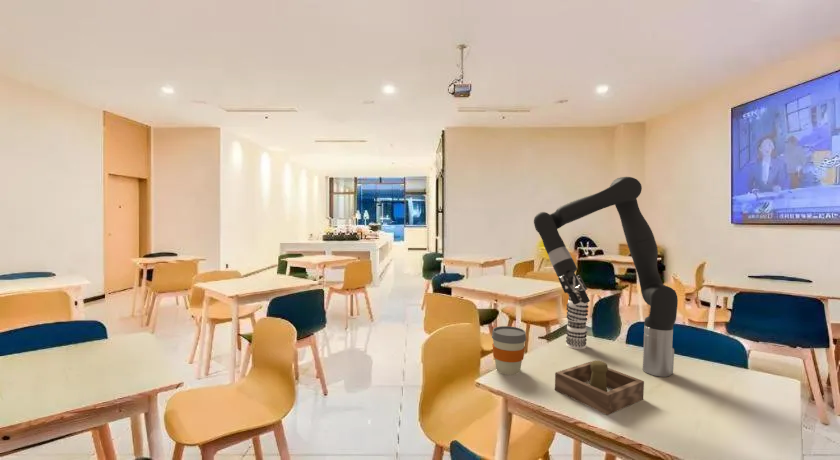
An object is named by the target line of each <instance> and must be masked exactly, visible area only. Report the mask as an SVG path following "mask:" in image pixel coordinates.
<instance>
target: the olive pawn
mask: <svg viewBox="0 0 840 460" xmlns="http://www.w3.org/2000/svg"><path fill="white" fill-rule="evenodd" d="M591 362H592V363H591V370H592V374H591V380H590V381H589V385H591V386H593V387H596V388H598V389H600V390H603V391H605V392H608V387H607V381H606V372H607V370H608V368H609V367H608V364H607V363H606V362H605V361H602V360H592V361H591Z"/></svg>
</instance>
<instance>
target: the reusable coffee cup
mask: <svg viewBox="0 0 840 460" xmlns="http://www.w3.org/2000/svg"><path fill="white" fill-rule="evenodd" d="M526 334H527V333H526V330H524V329H523V328H520V327H516V326H508V325H502V326H495V327H494V328H492V332H491V339H492V341H493V342H492V354H493V357H494V362H495V370H496V369H497V370H496V372H498V373H499V374H503V375H507V376H514V375H515V376H516V375H518V374H520V373H521V369H522V367H521V366H522V362H523V360H524V357H525V351H526V346H525V342H526V341H527V337H526Z"/></svg>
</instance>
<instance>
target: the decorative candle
mask: <svg viewBox="0 0 840 460" xmlns="http://www.w3.org/2000/svg"><path fill="white" fill-rule="evenodd" d="M575 292H576V295H577V297H578V299H579V301H580V303H578V304H573V302H572V300H571V298H570V296H569V295H568V300H567V303H566V309H565V310H566V320H567V325H566V330H565V331H566V337H565V339H566V340H565V342H566V344H565V346H567V347H568V348H571V349H575V350H584V349H586V348H587V337H588V335H587V334H588V331H587V322H588V318H587V316H589V314H588V312H589V310H588V308H589V307H590V305H589V302H588V303H583V301H582V299H581V297H580V295H579V293H578V292H577V290H575ZM575 292H574V293H575ZM586 294H587V293H586ZM587 296H588V294H587Z"/></svg>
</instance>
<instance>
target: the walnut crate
mask: <svg viewBox="0 0 840 460" xmlns="http://www.w3.org/2000/svg"><path fill="white" fill-rule="evenodd" d="M591 363H592V361H588V362H585V363H581V364H579V365H578V364H577V365H576V366H572V367H569V368H565V369H562V370H559V371H555V373H554V375H555V376H554V377H555V378H554V390H555V391H556V392H559V393H561V394H562V395H565V396H567V397H569V398H570V399H573V400H575V401H577V402H579V403H582V404H583V405H585V406H587V407H589V408H592V409H593V410H596V411H598V412H599V413H602V414H604V415H606V416H608V415H612V414H614V413H615V412H618V411H621V410H623V409H625V408H627V407H629V406H632V405H634V404H636V403H639V402H640V401H641V402H642V401H643V400H644V393H645V392H644V390H645V381H644V380H642V379H639V378H637V377H633V376H631V375H629V374H626V373H623V372H620V371H618V370H616V369H613V368H609V367H608V370H607V372H606V381H607V388H609V389H611V390H609V391H608V390H607V391H608V392H605V391H603V390H600V389H598V388H596V387H593V386H591V385H590V383H588V382H590V380H591V374H592V370H591Z"/></svg>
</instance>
